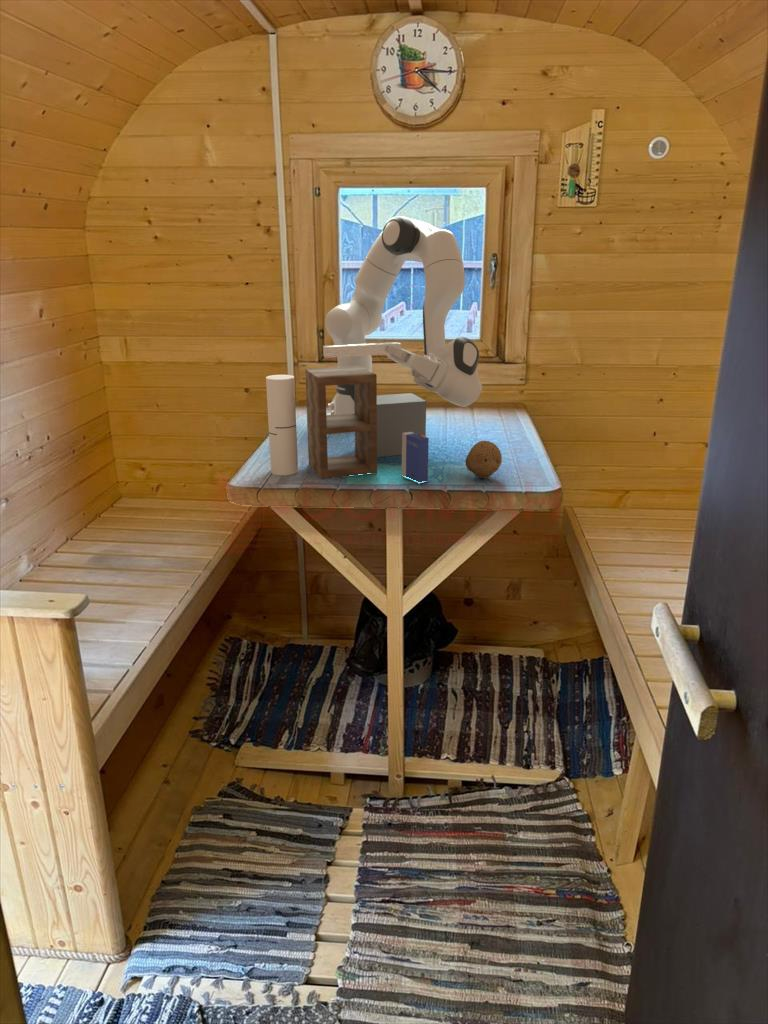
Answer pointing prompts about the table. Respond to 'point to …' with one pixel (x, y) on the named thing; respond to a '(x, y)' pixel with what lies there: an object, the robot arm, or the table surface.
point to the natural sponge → (484, 459)
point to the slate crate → (398, 421)
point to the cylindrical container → (282, 424)
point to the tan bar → (358, 349)
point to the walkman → (415, 456)
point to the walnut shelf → (342, 421)
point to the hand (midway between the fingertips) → (385, 346)
